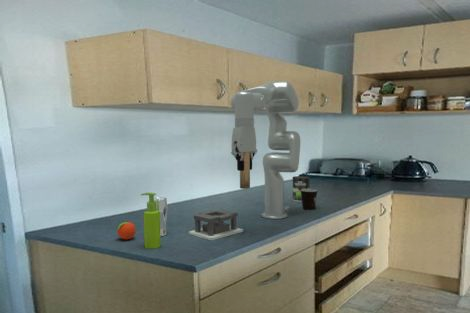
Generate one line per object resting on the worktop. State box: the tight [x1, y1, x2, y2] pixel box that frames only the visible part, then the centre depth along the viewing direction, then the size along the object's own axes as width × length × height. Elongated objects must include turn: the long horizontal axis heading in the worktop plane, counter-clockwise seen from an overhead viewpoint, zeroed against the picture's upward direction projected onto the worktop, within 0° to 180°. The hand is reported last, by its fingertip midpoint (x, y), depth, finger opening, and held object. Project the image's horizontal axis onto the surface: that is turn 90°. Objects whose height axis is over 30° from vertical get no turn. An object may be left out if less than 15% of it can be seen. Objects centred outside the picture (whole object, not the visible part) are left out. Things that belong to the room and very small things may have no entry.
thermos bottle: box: [239, 152, 251, 190], centre depth 153 cm, size 4×4×18 cm
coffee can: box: [291, 175, 311, 203], centre depth 232 cm, size 10×10×14 cm
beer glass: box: [154, 197, 168, 237], centre depth 158 cm, size 7×7×15 cm
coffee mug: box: [301, 188, 318, 211], centre depth 206 cm, size 12×9×10 cm
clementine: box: [116, 221, 137, 240], centre depth 152 cm, size 8×7×7 cm
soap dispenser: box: [140, 192, 162, 250], centre depth 143 cm, size 6×7×20 cm
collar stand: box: [188, 208, 244, 241], centre depth 161 cm, size 18×14×8 cm
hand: (244, 169), depth 153 cm, fingers closed on thermos bottle, 4 cm apart
